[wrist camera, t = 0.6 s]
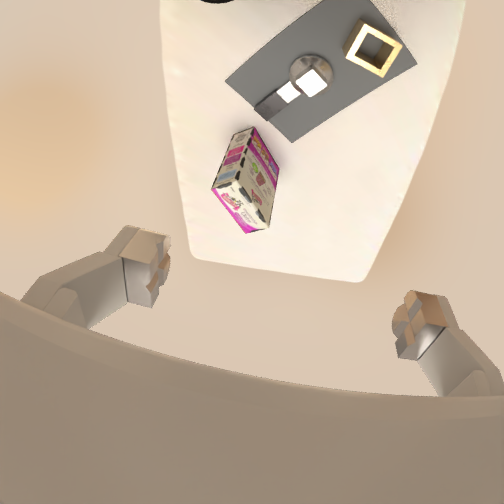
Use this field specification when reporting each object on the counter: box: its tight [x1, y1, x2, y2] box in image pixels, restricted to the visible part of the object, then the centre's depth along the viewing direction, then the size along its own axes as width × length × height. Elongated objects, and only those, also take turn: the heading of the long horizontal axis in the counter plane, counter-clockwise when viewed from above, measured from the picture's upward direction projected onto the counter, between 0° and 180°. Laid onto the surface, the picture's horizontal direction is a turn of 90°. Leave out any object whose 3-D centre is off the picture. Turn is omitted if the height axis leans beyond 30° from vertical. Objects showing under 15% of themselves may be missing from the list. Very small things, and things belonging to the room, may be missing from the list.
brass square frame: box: [342, 18, 403, 78], centre depth 36 cm, size 6×6×6 cm
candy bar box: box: [211, 127, 279, 234], centre depth 55 cm, size 11×5×16 cm, turn 29°
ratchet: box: [254, 54, 333, 121], centre depth 45 cm, size 15×7×5 cm, turn 136°
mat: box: [225, 0, 417, 143], centre depth 43 cm, size 28×17×1 cm, turn 136°
